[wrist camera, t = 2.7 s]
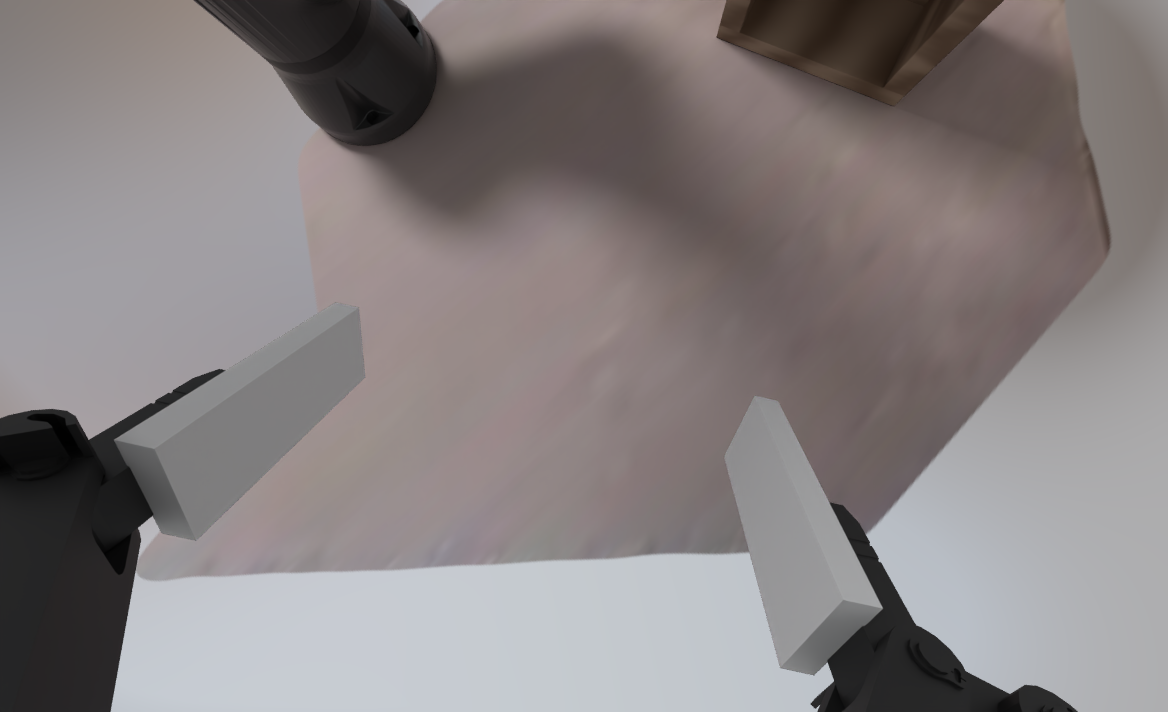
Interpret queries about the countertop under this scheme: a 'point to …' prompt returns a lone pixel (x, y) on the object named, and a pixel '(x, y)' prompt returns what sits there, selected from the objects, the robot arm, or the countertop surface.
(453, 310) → the countertop surface
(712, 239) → the countertop surface
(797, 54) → the open wooden box
